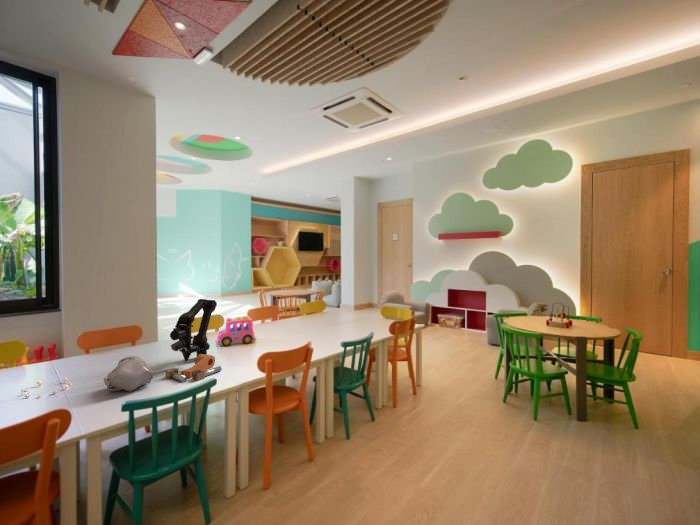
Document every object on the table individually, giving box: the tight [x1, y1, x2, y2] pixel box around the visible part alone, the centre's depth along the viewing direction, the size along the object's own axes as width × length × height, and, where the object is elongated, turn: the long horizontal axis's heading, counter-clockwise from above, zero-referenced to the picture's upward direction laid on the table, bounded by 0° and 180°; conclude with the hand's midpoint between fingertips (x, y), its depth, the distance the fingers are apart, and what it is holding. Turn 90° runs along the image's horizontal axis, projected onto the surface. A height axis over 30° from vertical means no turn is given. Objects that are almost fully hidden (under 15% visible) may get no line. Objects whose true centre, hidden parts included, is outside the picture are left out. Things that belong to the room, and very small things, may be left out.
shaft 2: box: [191, 365, 222, 382], centre depth 185 cm, size 16×5×4 cm, turn 148°
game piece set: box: [18, 377, 73, 399], centre depth 163 cm, size 19×20×4 cm
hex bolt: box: [164, 367, 188, 383], centre depth 179 cm, size 14×5×4 cm, turn 58°
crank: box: [180, 354, 216, 379], centre depth 191 cm, size 20×8×8 cm, turn 163°
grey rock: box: [103, 355, 153, 392], centre depth 166 cm, size 20×18×15 cm
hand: (186, 361), depth 197 cm, fingers closed
